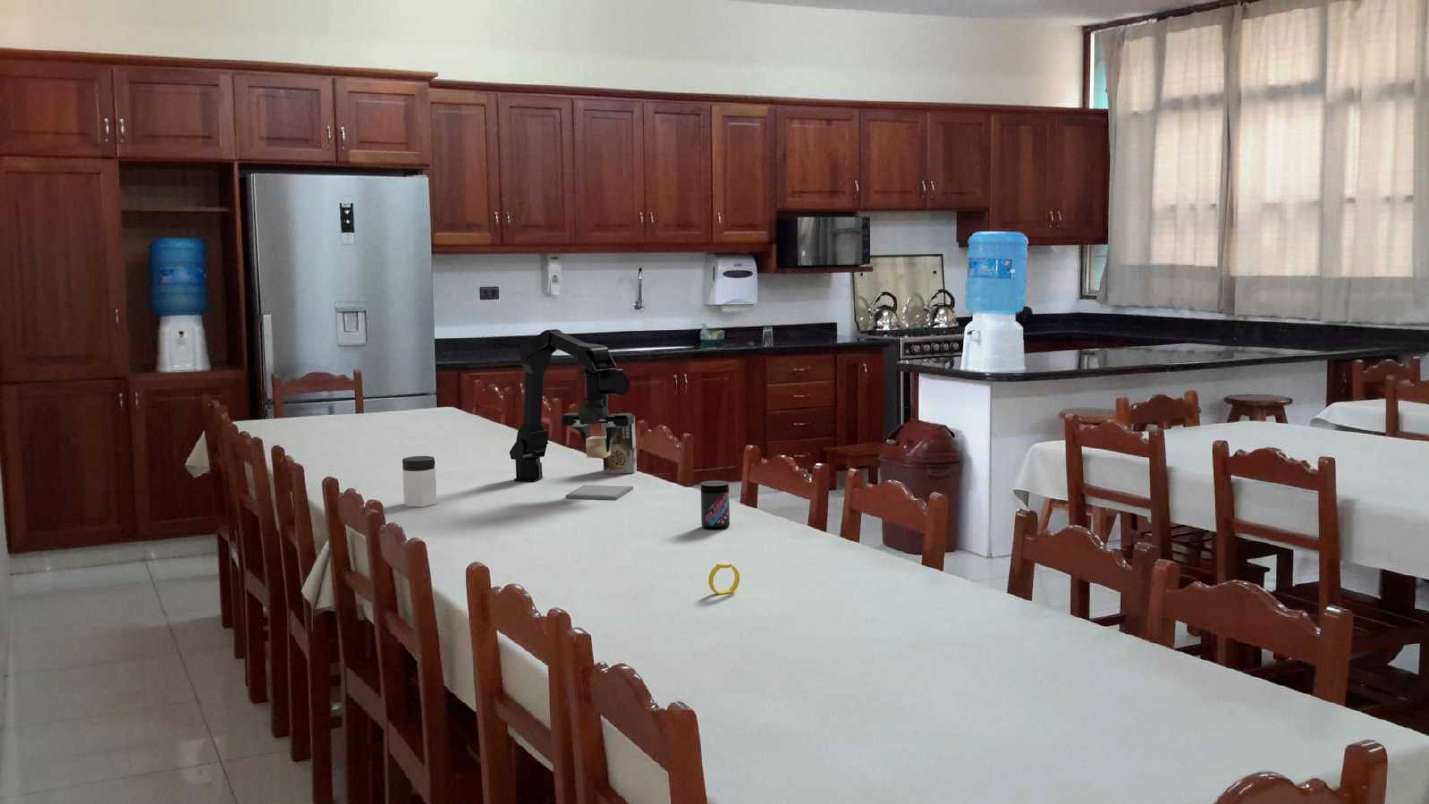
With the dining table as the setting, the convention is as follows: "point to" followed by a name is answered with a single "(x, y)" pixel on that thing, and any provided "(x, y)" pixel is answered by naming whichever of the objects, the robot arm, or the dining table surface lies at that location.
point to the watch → (719, 565)
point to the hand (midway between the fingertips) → (598, 451)
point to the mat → (599, 492)
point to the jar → (419, 481)
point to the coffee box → (621, 450)
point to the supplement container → (715, 505)
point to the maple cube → (597, 447)
